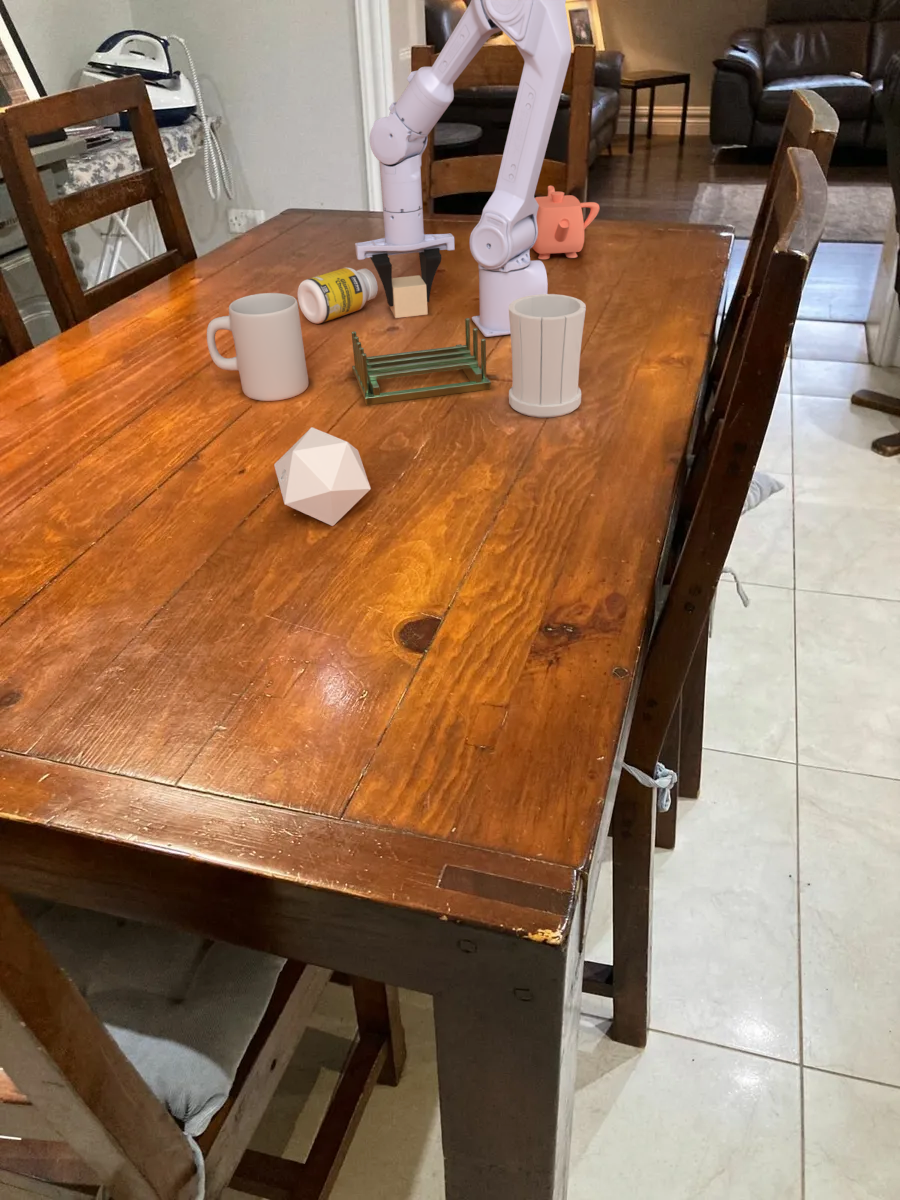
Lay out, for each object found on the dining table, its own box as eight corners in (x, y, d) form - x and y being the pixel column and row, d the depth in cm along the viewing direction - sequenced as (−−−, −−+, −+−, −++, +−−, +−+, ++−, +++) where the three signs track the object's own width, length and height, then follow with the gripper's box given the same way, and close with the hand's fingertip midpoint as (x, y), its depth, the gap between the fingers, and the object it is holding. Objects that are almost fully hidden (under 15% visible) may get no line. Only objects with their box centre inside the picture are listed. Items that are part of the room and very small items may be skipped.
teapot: (609, 253, 164) (612, 191, 158) (563, 268, 158) (565, 205, 152) (549, 239, 173) (550, 180, 167) (503, 253, 167) (503, 192, 161)
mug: (313, 374, 124) (302, 291, 118) (304, 400, 117) (292, 313, 111) (223, 377, 124) (207, 294, 118) (209, 403, 117) (192, 317, 111)
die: (305, 490, 99) (247, 442, 91) (374, 448, 97) (321, 395, 89) (322, 552, 95) (263, 508, 87) (396, 509, 93) (342, 459, 85)
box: (421, 304, 146) (419, 275, 143) (427, 314, 142) (426, 284, 139) (389, 307, 145) (387, 278, 142) (395, 318, 141) (393, 288, 138)
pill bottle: (310, 274, 135) (371, 255, 141) (289, 288, 140) (348, 269, 146) (328, 318, 136) (387, 297, 143) (307, 330, 141) (365, 309, 148)
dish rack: (469, 358, 127) (468, 314, 123) (490, 389, 118) (490, 343, 114) (352, 372, 124) (348, 328, 120) (366, 405, 115) (361, 358, 112)
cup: (490, 392, 117) (489, 297, 110) (554, 379, 120) (557, 285, 113) (528, 425, 109) (530, 323, 102) (596, 409, 112) (602, 310, 105)
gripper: (445, 197, 139) (448, 289, 147) (348, 206, 136) (357, 299, 144) (456, 208, 133) (459, 303, 141) (356, 217, 131) (364, 314, 139)
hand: (408, 302), depth 142 cm, fingers closed on box, 5 cm apart
